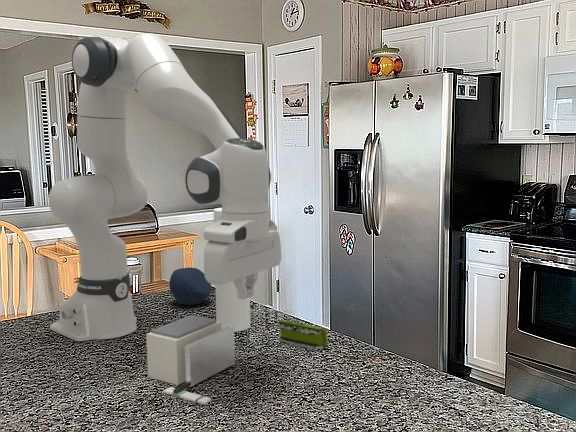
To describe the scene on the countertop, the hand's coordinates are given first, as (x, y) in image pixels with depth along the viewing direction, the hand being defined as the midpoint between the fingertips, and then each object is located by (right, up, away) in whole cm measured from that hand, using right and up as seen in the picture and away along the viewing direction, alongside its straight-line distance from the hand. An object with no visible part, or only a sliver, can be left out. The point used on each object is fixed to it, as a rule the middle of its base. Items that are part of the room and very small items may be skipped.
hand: (245, 297), depth 118 cm
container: (-6, -13, +39) cm, 41 cm away
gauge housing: (-10, -17, +6) cm, 21 cm away
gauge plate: (-13, -16, +8) cm, 22 cm away
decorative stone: (-20, -10, +60) cm, 64 cm away
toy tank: (+10, -14, +28) cm, 33 cm away
